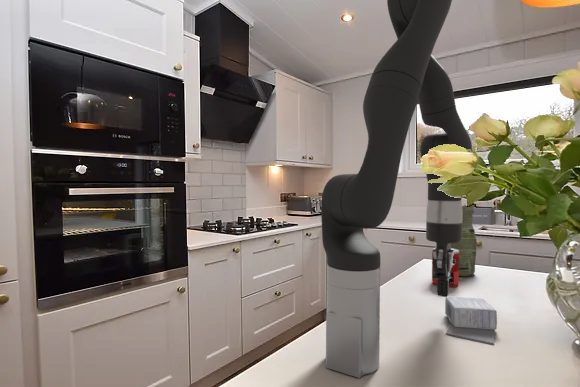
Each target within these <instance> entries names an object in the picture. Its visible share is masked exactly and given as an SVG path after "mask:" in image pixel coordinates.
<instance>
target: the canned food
mask: <svg viewBox="0 0 580 387" xmlns="http://www.w3.org/2000/svg"><path fill="white" fill-rule="evenodd" d="M435 248H436V247H434V248H432V251H431V255H432V256H431V257H432V258H431V281H432V284H433V285H435V286H437V280H438V279H437V278H435V272H434V264H433V260H434V257H433V249H435ZM451 249H453V248H451ZM459 280H460V276H459V250H457V249H454V256H453V260H452V268H451V274H450V279H449V288H456V287H458V286H459V284H460V281H459Z"/></svg>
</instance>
